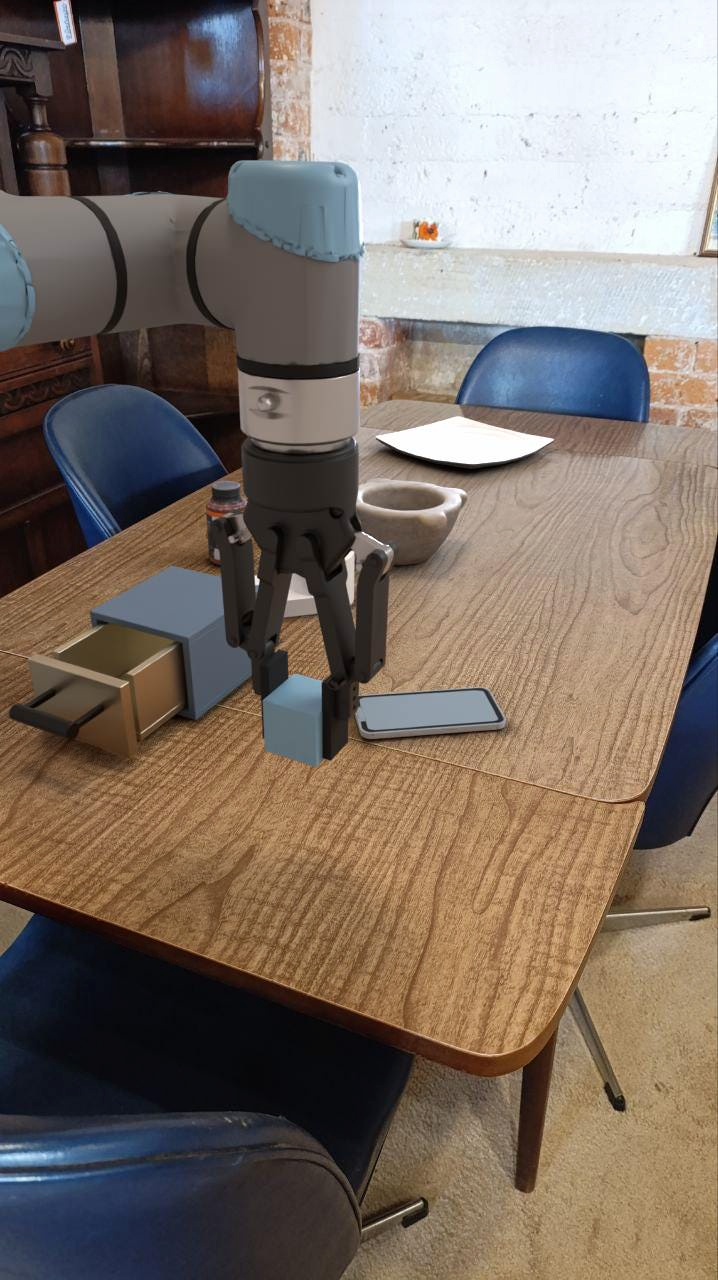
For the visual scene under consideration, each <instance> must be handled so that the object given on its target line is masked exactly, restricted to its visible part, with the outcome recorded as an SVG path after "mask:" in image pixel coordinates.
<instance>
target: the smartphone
mask: <svg viewBox="0 0 718 1280" xmlns="http://www.w3.org/2000/svg"><path fill="white" fill-rule="evenodd" d="M358 701H359V707H358V709H357V711H356V713H355V714H354V718H355V722H356V725H357V728H358V732H359V735H360V736H361V737H362V738H364V739H367V740H373V739H375V740H376V739H377V740H378V739H387V738H388V739H389V738H400V737H401V738H402V737H403V738H404V737H415V736H427V735H429V736H430V735H442V734H457V733H466V732H468V733H469V732H481V731H493V730H502V729H503V728H505V727H506V722H507V721H506V720H507V718H506V716H505V715H504V713H503V710H502V709H501V708H500V705H499V704H498V701H497V699H495V696H494V694H493V693H492V691H491V690H490V689H489V688H487V687H484V686H473V687H472V686H471V687H459V688H458V687H457V688H444V689H429V690H427V689H426V690H414V691H400V692H385V693H370V694H359V700H358Z"/></svg>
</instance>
